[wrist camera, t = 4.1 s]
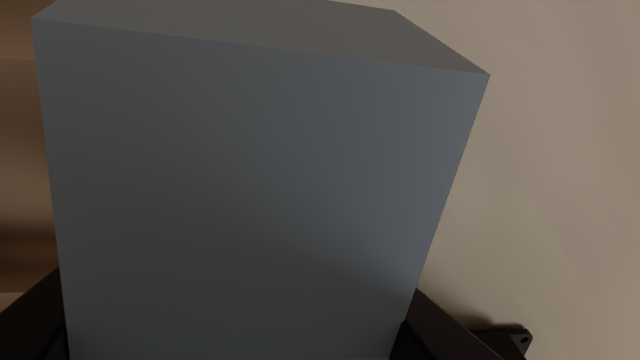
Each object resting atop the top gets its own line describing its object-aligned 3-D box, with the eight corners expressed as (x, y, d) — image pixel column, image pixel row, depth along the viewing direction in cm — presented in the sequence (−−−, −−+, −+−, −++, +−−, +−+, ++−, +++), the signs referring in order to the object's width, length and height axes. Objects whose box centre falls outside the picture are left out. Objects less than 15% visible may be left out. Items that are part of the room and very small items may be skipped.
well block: (239, 298, 23) (242, 360, 20) (-80, 306, 20) (-133, 381, 17) (267, -85, 15) (280, -78, 12) (-251, -163, 12) (-409, -181, 9)
